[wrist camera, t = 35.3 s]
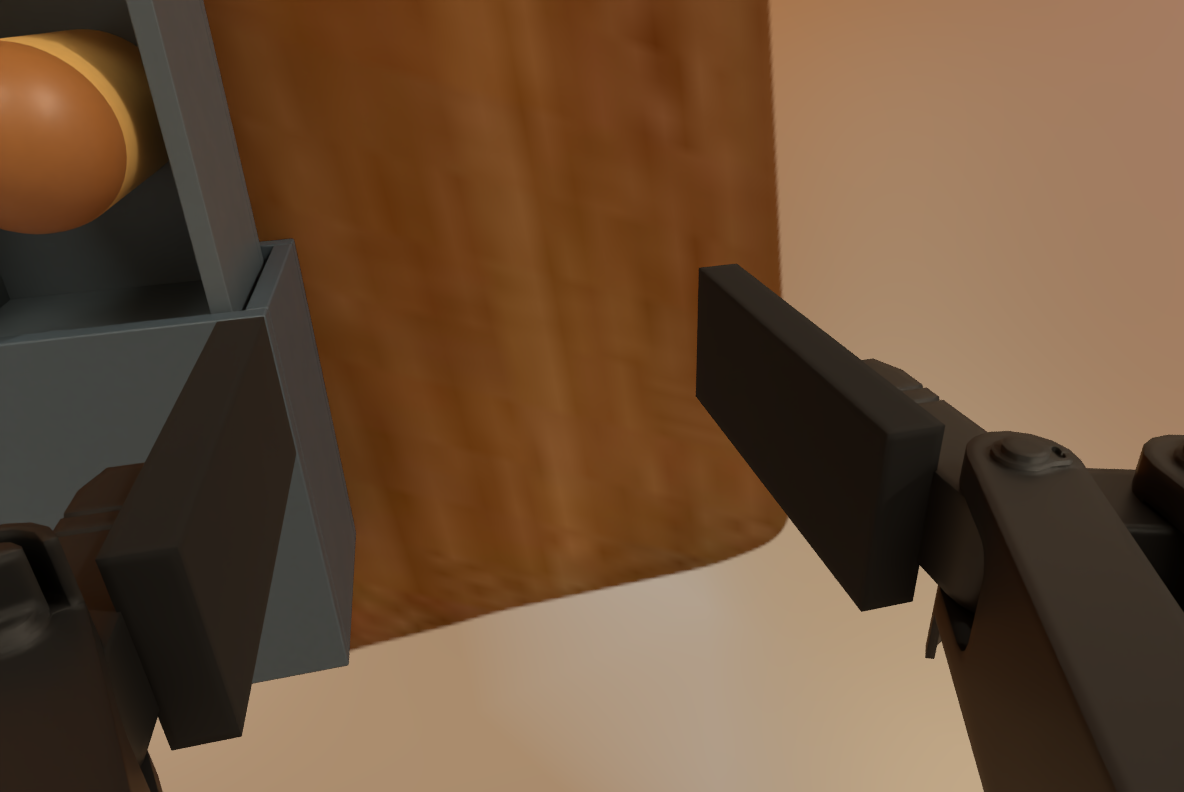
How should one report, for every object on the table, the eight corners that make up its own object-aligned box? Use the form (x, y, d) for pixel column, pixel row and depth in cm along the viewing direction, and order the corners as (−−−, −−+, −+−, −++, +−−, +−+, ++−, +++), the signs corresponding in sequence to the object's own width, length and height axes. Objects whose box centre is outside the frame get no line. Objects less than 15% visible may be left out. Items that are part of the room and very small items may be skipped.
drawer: (-276, -343, 26) (-550, -482, 19) (151, -331, 29) (66, -450, 21) (-11, 311, 37) (-117, 396, 29) (286, 280, 39) (262, 351, 31)
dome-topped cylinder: (97, -4, 32) (-31, -2, 22) (214, 127, 35) (146, 180, 25) (-18, 88, 32) (-194, 130, 22) (106, 209, 35) (-1, 293, 25)
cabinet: (-32, 268, 37) (-174, 363, 27) (293, 238, 39) (265, 314, 30) (93, 575, 45) (16, 729, 35) (356, 532, 47) (348, 666, 38)
